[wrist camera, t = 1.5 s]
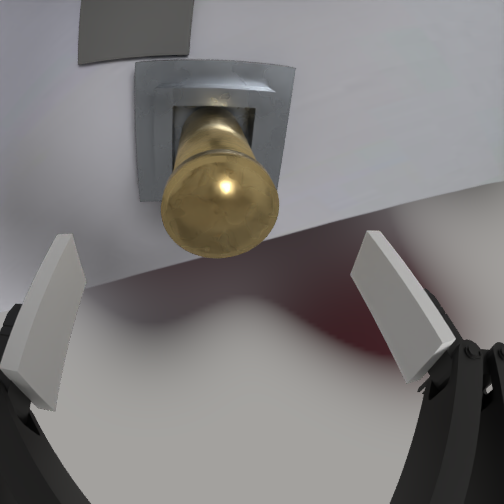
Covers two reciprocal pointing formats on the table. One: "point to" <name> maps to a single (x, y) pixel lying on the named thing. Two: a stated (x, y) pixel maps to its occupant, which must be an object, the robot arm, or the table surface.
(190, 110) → the housing
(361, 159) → the table surface
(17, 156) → the table surface
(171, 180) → the brass flared knob
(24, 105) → the table surface
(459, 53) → the table surface
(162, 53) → the mat
